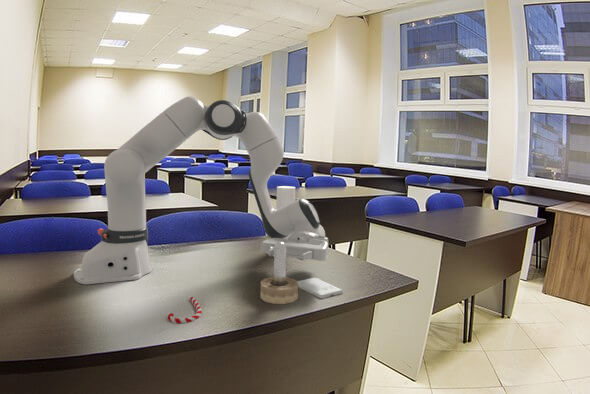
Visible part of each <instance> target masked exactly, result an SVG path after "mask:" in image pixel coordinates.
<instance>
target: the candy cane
mask: <svg viewBox="0 0 590 394" xmlns="http://www.w3.org/2000/svg"><path fill="white" fill-rule="evenodd" d="M188 300H189V302H190V303H191V304H192V305H193V307H194V309H195V314H193V315H191V316H189V317H185V318H176V317H174V313H173V312H170V313H168V315H167V321H169V322H170V321H171V323H173V322H174V324H187V323H190V322H191V323H192V322H194V321H196V320H198V319H199V318H200V317H201V315H202V308H201V305H200V303H199V302H198V301H197V300H196V299H195V297H194V296H189V298H188Z"/></svg>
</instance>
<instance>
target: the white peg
mask: <svg viewBox="0 0 590 394" xmlns="http://www.w3.org/2000/svg"><path fill="white" fill-rule="evenodd" d="M273 258H274V260H273V277H274V286H285V277H286V275H287V274H286V271H287V270H286V269H287V266H286V265H287V256H286V245H285V243H283V242H278V243H276V245H275V252H274V256H273Z"/></svg>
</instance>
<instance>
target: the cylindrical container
mask: <svg viewBox="0 0 590 394" xmlns="http://www.w3.org/2000/svg"><path fill="white" fill-rule="evenodd" d="M293 201H296V186H289V185H281V186H276V202H275V203H276V206H275V207H276V208H275V209H279V208H281V207H283V206H285V205H287V204H289V203H291V202H293ZM292 234H293V233H292ZM290 235H291V234H290ZM290 235H288V236H287V237H285V238H283V239H288V238H289V236H290Z"/></svg>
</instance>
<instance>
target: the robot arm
mask: <svg viewBox="0 0 590 394" xmlns="http://www.w3.org/2000/svg"><path fill="white" fill-rule="evenodd" d="M199 131H203V132H204V133H205V134H208V135H209V136H210V137H212V138H214V139H216V140H219V141H225V140H229V139H231V138H233V137H236V138H238V139H239V140H240V141H241V142H242V144H243V145H244V148H245V149H246V152H247V154H248V156H249V159H250V169H249V170H248V178H249V182H250V186H251V189H252V192H253V196H254V199H255V201H256V205H257V207H258V210H259V214H260V217H261V222H262V223H261V224H262V226H263V230H264V233H265V235H266V236H267V237H268V239H265V240H263V241H261V253H263V255H264V254H266V255H268V257H274V252H275V245H276V243H278V242H283V243H285V245H286V257H289V258H294V259H297V260H300V261H304V262H305V261H306V260H313V261H319V262H323V261H326V260H327V259H328V254H329V238H328V237H327V236H326V231H325V229H324V227H323V226H322V225H321V218H320V214H319V212H318V210H317V208H316V207H315V204H313V203H312V202H311V201H309V200H307V199H305V198H301V197H300V198H298V199H295V201H293V202H291V203H289V204H287V205H285V206H283V207H281V208H279V209H276V208H274V205H273V203H272V202H273V201H272V199H271V195H270V192H269V189H268V181H269V180H270V177H271V176H272V175H273V174H274V173H275V172H276V170H277V169H278V168H279V167H280V165H281V163H282V161H283V159H284V149H283V146H282V143H281V141H280V139H279V137H278V135H277V133H276V131H275V130H274V128H273V126H272V124H271V123H270V122H269V120H268V119H267V117H265V115H264V114H263V113H261V112H260V111H251V112H248V113H246V111H244V110H243V109H241V108H240V107H239V106H237V105H236V104H234V103H233V102H230V101H229V100H223V99H219V100H216V101H214V102H213V103H211V104H210V105H208V106H207V105H205V104H204V103H203V102H202V101H201V100H200V99H198V98H197V97H195V96H189V95H188V96H185V97H184V98H181V99H180V100H178V101H176V102H175V103H173V104H171V105H170V106H168V107H167V108H165V110H163V111H162V112H161V113H159V114H158V115H157V116H155V118H153V119H152V120H151V121H150V122H149V123H147V124H146V125H145V126H143V127H142V128H141V129H140V130H139V131H137V133H135V134H134V135H133V136H132V137H130V138H129V139H128V140H127V141H126V142H124V144H122V145H121V146H120V147H118V148H117V149H115V150H114V151H112V152H110V154H108V155H107V157H106V159H105V161H104V165H103V166H104V167H103V168H104V182H105V194H106V201H107V203H106V204H107V226H108V227H107V228H106V229H103V228H98V230H97V235H99V236H100V237H101V241H100V242H99V243H97V244H96V245H95V246H93V247H92V248H91V249H89V250H88V251H87V252H85V254H84V255H83V257H82V260H81V261H82V262H81V268H77V269H76V270H75V271H74V272H73V279H74V281H75V282H77V283H79V284H82V285H93V284H94V285H95V284H102V283H104V284H105V283H114V282H124V281H134V280H135V281H136V280H139V279H140V278H142V277H143V276H145V275H147V274H149V273H151V272H152V270H153V267H152V263H151V260H150V255H149V250H148V245H149V244H148V243H149V229H148V226H147V204H146V203H147V202H146V198H147V197H146V176H145V175H146V174H147V172H149V171H150V170H151V169H152V168H153V167H155V166H156V165H157V164H158V163H160V162H161V161H163V160H164V159H165V158H166V157H168V156H169V155H171V154H172V153H173V152H174V151H175V150H176V149H178V147H180V146H181V145H182V144H183V143H185V142H186V141H187V140H189V138H190V137H192V136H193V135H195V133H197V132H199ZM292 233H293V234H292ZM290 234H291V235H290ZM288 235H290V236H289V238H288V239H283V238H285V237H287V236H288Z"/></svg>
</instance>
